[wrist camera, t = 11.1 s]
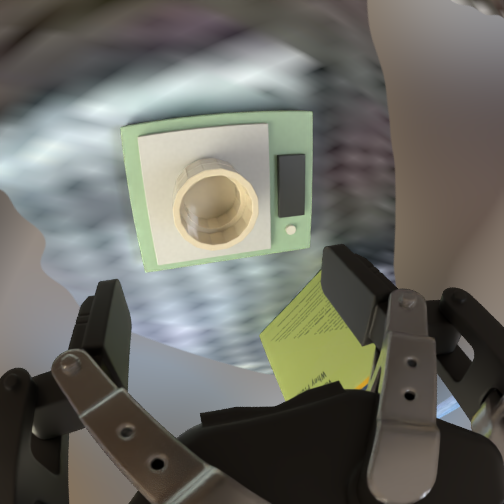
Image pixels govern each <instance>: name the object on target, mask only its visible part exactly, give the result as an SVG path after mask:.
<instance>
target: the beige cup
mask: <svg viewBox="0 0 504 504" xmlns="http://www.w3.org/2000/svg"><path fill="white" fill-rule="evenodd" d="M258 214H259V208H258V197H257V195H256V193H255V190H254V188H253V186H252V184H251V183H250V182H249V181H248V180H247V179H246V178H245V177H244V176H243V175H242V174H241V173H240V172H239V171H238V170H237V169H236V168H235V167H234V166H232V165H231V164H230V163H228V162H226V161H223V160H220V159H216V158H209V159H200V160H197V161H195V162H194V163H192V164H190V165H188V166H186V167H185V168H184V170H183V171H182V172H181V173H180V175H179V176H178V177H177V179H176V182H175V185H174V188H173V216H174V223H175V226H176V228H177V229H178V231H179V233H180V234H181V236H182V237H183V238H184V239H185V240H186V241H188V242H189V243H191V244H192V245H193V246H195V247H197V248H201V249H206V250H210V251H215V250H222V249H228V248H230V247H232V246H234V245H236V244H238V243H239V242H241V241H243V240H244V238H245V237H246V236H247V235H248V234H249V233H250V232H251V231H252V229H253V228H254V225H255V222H256V220H257V217H258Z"/></svg>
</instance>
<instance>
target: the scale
mask: <svg viewBox="0 0 504 504" xmlns="http://www.w3.org/2000/svg"><path fill="white" fill-rule="evenodd" d="M120 131H121V139H122V147H123V155H124V162H125V169H126V176H127V182H128V189H129V195H130V200H131V206H132V212H133V217H134V222H135V227H136V232H137V237H138V242H139V247H140V251H141V256H142V260H143V265H144V269H145V272H153V271H159V270H166V269H173V268H179V267H186V266H193V265H199V264H206V263H213V262H219V261H226V260H233V259H239V258H246V257H252V256H259V255H265V254H272V253H278V252H285V251H291V250H298V249H304V248H310V234H311V208H312V165H313V112H312V111H303V110H280V111H249V112H232V113H218V114H207V115H197V116H187V117H179V118H171V119H164V120H157V121H150V122H144V123H138V124H132V125H126V126H123V127H121V128H120ZM209 158H216V159H220V160H223V161H226V162H228V163H230V164H231V165H232V166H234V167H235V168H236V169H237V170H238V171H239V172H240V173H241V174H242V175H243V176H244V177H245V178H246V179H247V180H248V181H249V182H250V183H251V184H252V186H253V188H254V190H255V193H256V195H257V197H258V208H259V214H258V217H257V220H256V222H255V225H254V228H253V229H252V231H251V232H250V233H249V234H248V235H247V236H246V237H245V238H244V240H243V241H241V242H239V243H238V244H236V245H234V246H232V247H230V248H228V249H222V250H215V251H210V250H206V249H201V248H197V247H195V246H193V245H192V244H191V243H189V242H188V241H186V240H185V239H184V238H183V237H182V236H181V234H180V233H179V231H178V229H177V228H176V226H175V223H174V216H173V188H174V185H175V182H176V179H177V177H178V176H179V175H180V173H181V172H182V171H183V170H184V168H185V167H186V166H188V165H190V164H192V163H194V162H195V161H197V160H200V159H209Z"/></svg>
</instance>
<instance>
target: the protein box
mask: <svg viewBox="0 0 504 504" xmlns="http://www.w3.org/2000/svg"><path fill="white" fill-rule="evenodd" d="M321 270H322V269H321ZM321 270H320V271H319V273H318V274H317V275H316V276H315V277H314V278H313V279H312V280H311V281H310V282H309V283H308V284H307V286H306V287H305V288H304V289H303V290H302V291H301V292H300V293H299V294H298V295H297V296H296V297H295V298H294V299H293V300H292V302H291V303H290V304H289V305H288V306H287V307H286V308H285V309H284V310H283V311H282V312H281V313H280V314H279V315H278V316H277V317H276V318H275V319H274V320H273V321H272V322H271V323H270V324H269V325H268V326H267V327H266V328H265V330H264V331H263V332H262V333H261V334H260V335H259V337H260V339H261V342H262V344H263V347H264V350H265V352H266V355H267V357H268V360H269V362H270V364H271V367H272V370H273V372H274V374H275V377H276V379H277V382H278V384H279V386H280V389H281V391H282V394H283V396H284V399H285V401H287V400H289V399H291V398H293V397H295V396H297V395H299V394H301V393H302V392H304V391H306V390H308V389H312V388H315V387H319V386H322V385H325V384H329V383H332V382H335V381H338V380H339V381H340V383H341V385H342V386H343V388H344V389H361V390H367V386H368V381H369V376H370V371H371V365H372V359H373V353H374V350H375V347H376V346H375V345H374V343H372V344H369V345H366V346H363V347H362V346H361V344H360V343H359V341H358V340H357V339H356V337H355V336H354V334H353V333H352V332H351V330H350V329H349V328H348V326H347V325H346V323H345V322H344V321H343V319H342V318H341V316H340V315H339V314H338V312H337V311H336V310H335V308H334V307H333V306H332V304H331V303H330V301H329V300H328V299H327V297H326V296H325V295H324V293H323V291H322V287H321Z"/></svg>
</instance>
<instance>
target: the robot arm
mask: <svg viewBox="0 0 504 504" xmlns="http://www.w3.org/2000/svg"><path fill="white" fill-rule="evenodd" d="M321 287H322V291H323V293H324V295H325V296H326V297H327V299H328V300H329V301H330V303H331V304H332V306H333V307H334V308H335V310H336V311H337V312H338V314H339V315H340V316H341V318H342V319H343V321H344V322H345V323H346V325H347V326H348V328H349V329H350V330H351V332H352V333H353V334H354V336H355V337H356V339H357V340H358V341H359V343H360V344H361V346H362V347H363V346H366V345H369V344H372V343H374V345H375V346H376V347H375V350H374V353H373V359H372V365H371V371H370V376H369V381H368V386H367V390H361V389H344V388H343V386H342V385H341V383H340V381H339V380H338V381H335V382H332V383H329V384H325V385H322V386H319V387H315V388H312V389H308V390H306V391H304V392H302V393H301V394H299V395H297V396H295V397H293V398H291V399H289V400H287V401H285V402H283V403H282V404H280V405H277V406H274V407H233V408H228V409H222V410H217V411H211V412H205V413H200V417H201V422H202V423H201V424H199V425H196V426H194V427H192V428H190V429H189V430H187V431H185V432H184V433H183V434H181V435H180V436H179V437H177V438H175V437H174V436H173V435H172V434H171V433H170V432H169V431H167V430H166V429H165V428H164V427H163V426H162V425H161V424H160V423H159V422H158V421H156V420H155V419H154V418H153V417H152V416H151V415H150V414H149V413H148V412H147V411H146V410H145V409H144V408H143V407H142V406H141V405H140V404H139V403H138V402H137V401H136V400H135V399H134V398H133V397H132V396H131V395H130V394H129V393H128V371H129V354H130V340H131V328H132V325H131V317H130V312H129V309H128V306H127V303H126V300H125V297H124V294H123V291H122V287H121V284H120V282H119V280H118V279H113V280H106V281H100V282H99V283H98V286H97V289H96V293H95V296H88V298H87V299H86V300H85V301H84V302H83V304H82V305H81V307H80V310H79V314H78V317H77V320H76V325H75V327H74V330H73V334H72V337H71V341H70V344H69V348H68V350H67V351H65V352H63V353H62V354H60V355H59V356H58V357H57V358H56V359H55V360H54V362H53V364H52V368H51V371H49V372H46V373H43V374H40V375H38V376H34V377H31V376H30V374H29V373H28V372H27V370H25V369H23V368H14V369H11V370H9V371H7V372H6V373H5V374H4V375H3V376H2V377H1V378H0V504H69V489H68V447H69V433H71V432H74V431H77V430H80V429H83V428H86V429H87V430H88V432H89V433H90V434H91V436H92V437H93V438H94V439H95V441H96V442H97V443H98V445H99V446H100V447H101V448H102V450H103V451H104V452H105V453H106V454H107V456H108V457H109V458H110V459H111V461H112V462H113V463H114V464H115V465H116V466H117V468H118V469H119V470H120V471H121V472H122V473H123V474H124V476H125V477H126V478H127V479H128V480H129V481H130V482H131V483H132V484H133V485H134V486H135V487H136V488H137V490H138V491H137V493H136V494H135V496H134V497H133V498H132V500H131V501H130V502H129V504H504V327H503V326H502V325H501V324H500V323H499V322H498V321H497V320H496V319H495V318H494V317H493V316H492V315H491V314H490V313H489V312H488V311H487V310H486V309H485V308H484V307H483V306H482V305H481V304H480V303H479V302H478V301H477V300H475V299H474V298H473V297H472V296H471V295H470V294H469V293H467V292H466V291H464V290H462V289H459V288H447V289H445V290H444V291H443V294H442V297H441V300H430V301H425V299H424V297H423V296H422V295H420V294H419V293H417V292H416V291H413V290H410V289H398V288H397V287H396V286H395V285H394V284H393V283H392V282H391V281H390V280H389V279H387V278H386V277H385V276H384V275H383V274H382V273H380V271H379V270H378V269H377V268H376V267H374V265H373V264H372V263H371V262H369V261H368V260H367V259H366V258H364V257H362V256H360V255H358V254H354V253H353V252H352V251H351V250H349V249H348V248H347V247H346V246H345V245H344V244H338V245H332V246H326V247H325V248H324V250H323V258H322V270H321ZM461 335H462V336H463V337H464V338H465V339H466V340H467V342H468V343H469V344H470V345H471V346H472V348H473V350H474V360H473V362H472V361H471V360H470V359H469V358H468V357H467V356H466V354H465V353H464V352H463V351H462V350H461V348H460V347H459V346H458V345H457V343H458V341H459V339H460V337H461ZM437 374H438V375H439V377H440V378H441V379H442V381H443V382H444V383H445V385H446V386H447V388H448V389H449V391H450V392H451V393H452V395H453V396H454V398H455V399H456V401H457V402H458V403H459V405H460V406H461V408H462V409H463V411H464V412H465V414H466V415H467V417H468V418H469V420H470V421H471V428H472V431H470V430H467V429H465V428H462V427H459V426H456V425H454V424H451V423H448V422H446V421H443V420H441V419H438V418H436V411H437Z"/></svg>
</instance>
